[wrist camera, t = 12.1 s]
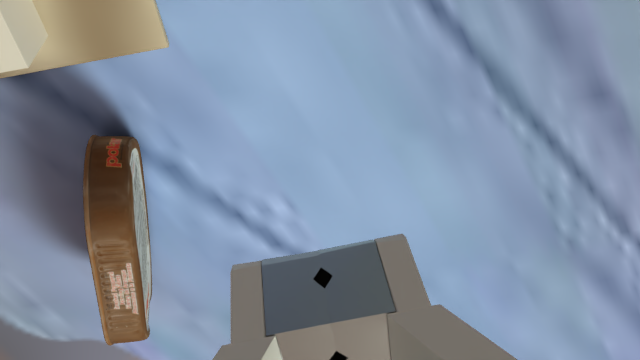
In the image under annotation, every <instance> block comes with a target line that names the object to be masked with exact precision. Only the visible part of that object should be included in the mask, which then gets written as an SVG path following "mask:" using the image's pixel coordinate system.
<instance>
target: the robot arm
mask: <svg viewBox="0 0 640 360" xmlns="http://www.w3.org/2000/svg"><path fill="white" fill-rule="evenodd" d="M213 360H517V359H516V358H514V357H513V356H512V355H510V354H509V353H507V352H506V351H505V350H503V349H502V348H500V347H499V346H498V345H496V344H495V343H493V342H492V341H491V340H489V339H488V338H486V337H485V336H484V335H482V334H481V333H479V332H478V331H477V330H475V329H474V328H472V327H471V326H470V325H468V324H467V323H465V322H464V321H463V320H461V319H460V318H458V317H457V316H456V315H454V314H453V313H451V312H450V311H449V310H447V309H446V308H444V307H443V306H442V305H440V304H439V305H433V306H431V304H430V301H429V299H428V296H427V293H426V291H425V288H424V285H423V282H422V280H421V277H420V274H419V272H418V269H417V266H416V263H415V261H414V258H413V255H412V253H411V250H410V247H409V244H408V242H407V239H406V237H405V236H404V235H403V234H398V235H393V236H388V237H383V238H378V239H374V240H368V241H363V242H358V243H353V244H348V245H342V246H337V247H332V248H327V249H322V250H318V251H313V252H307V253H301V254H295V255H289V256H283V257H276V258H270V259H264V260H262V261H256V262H249V263H243V264H237V265H233V266H232V270H231V344H227V345H223V346H221V348H220V349H219V351H218V352H217V354H216V355H215V357H214V358H213Z"/></svg>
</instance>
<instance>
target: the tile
mask: <svg viewBox="0 0 640 360" xmlns="http://www.w3.org/2000/svg"><path fill="white" fill-rule="evenodd" d="M47 37H48V34H47V32H46V30H45V28H44V25H43V23H42V21H41V19H40V17H39V14H38V12H37V10H36V8H35V6H34V4H33V1H32V0H0V73H3V72H8V71H13V70H19V69H24V68H29V66H30V64H31V63H32V61H33V60H34V58H35V56H36V55H37V53H38V52H39V50H40V48H41V47H42V45H43V44H44V42H45V40H46V39H47Z"/></svg>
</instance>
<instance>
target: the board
mask: <svg viewBox="0 0 640 360" xmlns="http://www.w3.org/2000/svg"><path fill="white" fill-rule="evenodd" d="M32 1H33V4H34V6H35V8H36V10H37V12H38V14H39V17H40V19H41V21H42V23H43V25H44V28H45V30H46V32H47V34H48V37H47V39H46V40H45V42H44V44H43V45H42V47H41V48H40V50H39V52H38V53H37V55H36V56H35V58H34V60H33V61H32V63H31V64H30V66H29V68H24V69H19V70H13V71H8V72H3V73H0V78H5V77H10V76H16V75H21V74H26V73H32V72H37V71H43V70H48V69H53V68H59V67H64V66H70V65H75V64H80V63H86V62H91V61H97V60H102V59H107V58H113V57H118V56H124V55H129V54H134V53H140V52H145V51H151V50H156V49H161V48H167V47H169V41H168V38H167V35H166V32H165V29H164V26H163V23H162V20H161V17H160V13H159V10H158V7H157V4H156V1H155V0H32Z"/></svg>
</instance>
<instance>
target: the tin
mask: <svg viewBox="0 0 640 360" xmlns="http://www.w3.org/2000/svg"><path fill="white" fill-rule="evenodd" d="M83 205H84V222H85V231H86V241H87V247H88V253H89V258H90V263H91V268H92V274H93V280H94V285H95V289H96V295H97V301H98V306H99V312H100V317H101V323H102V329H103V334H104V338H105V341H106V343H107V344H108V345H113V344H115V343H125V342H134V341H142V340H145V339H147V338H148V337H149V334H150V329H149V325H148V316H149V303H150V300H151V295H152V271H151V252H150V239H149V227H148V213H147V202H146V193H145V183H144V175H143V166H142V159H141V153H140V148H139V144H138V141H137V140H136V139H135V138H134V137H128V136H101V137H100V136H97V135H92V136H91V137H90V139H89V141H88V144H87V148H86V154H85V162H84V178H83Z"/></svg>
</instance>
